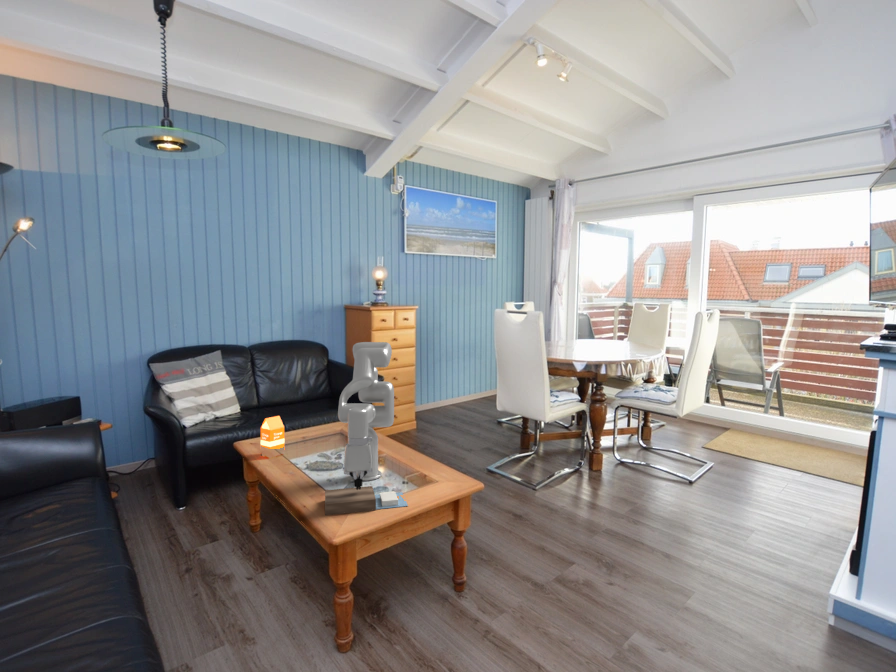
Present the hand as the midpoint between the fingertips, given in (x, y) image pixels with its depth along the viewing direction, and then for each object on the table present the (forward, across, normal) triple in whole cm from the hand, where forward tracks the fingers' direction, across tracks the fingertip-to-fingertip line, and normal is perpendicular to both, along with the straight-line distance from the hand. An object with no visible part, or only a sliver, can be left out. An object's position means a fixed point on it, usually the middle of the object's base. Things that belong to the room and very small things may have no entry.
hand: (358, 488), depth 173 cm
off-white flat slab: (+5, -11, +2) cm, 12 cm away
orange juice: (+8, +39, -74) cm, 84 cm away
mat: (+6, -12, 0) cm, 13 cm away
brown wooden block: (+6, +3, +1) cm, 7 cm away
